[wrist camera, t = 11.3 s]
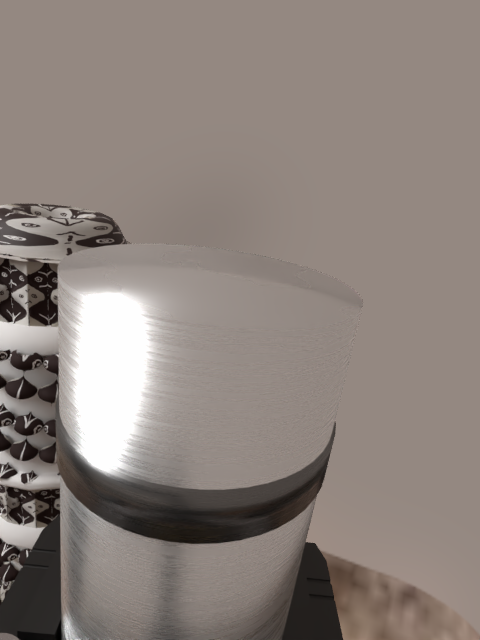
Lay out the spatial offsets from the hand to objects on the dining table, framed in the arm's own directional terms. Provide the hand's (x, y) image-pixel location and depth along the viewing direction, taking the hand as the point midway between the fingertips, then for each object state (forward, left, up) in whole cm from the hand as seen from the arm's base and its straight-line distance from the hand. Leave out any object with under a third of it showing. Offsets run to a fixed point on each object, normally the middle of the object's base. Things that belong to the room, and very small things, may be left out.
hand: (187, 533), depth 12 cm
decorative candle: (-11, +10, -19) cm, 24 cm away
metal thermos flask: (+1, -3, -11) cm, 11 cm away
